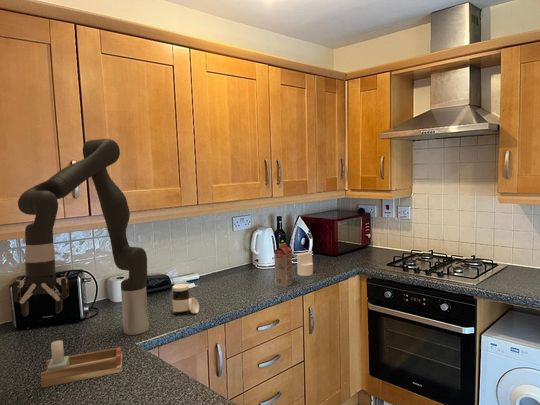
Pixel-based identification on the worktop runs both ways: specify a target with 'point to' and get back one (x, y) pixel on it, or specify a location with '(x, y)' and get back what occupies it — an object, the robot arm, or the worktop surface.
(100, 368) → the track
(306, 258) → the cylinder with rectangular tab
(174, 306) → the spread jar
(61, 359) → the slider
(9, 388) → the worktop surface
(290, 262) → the juice carton
